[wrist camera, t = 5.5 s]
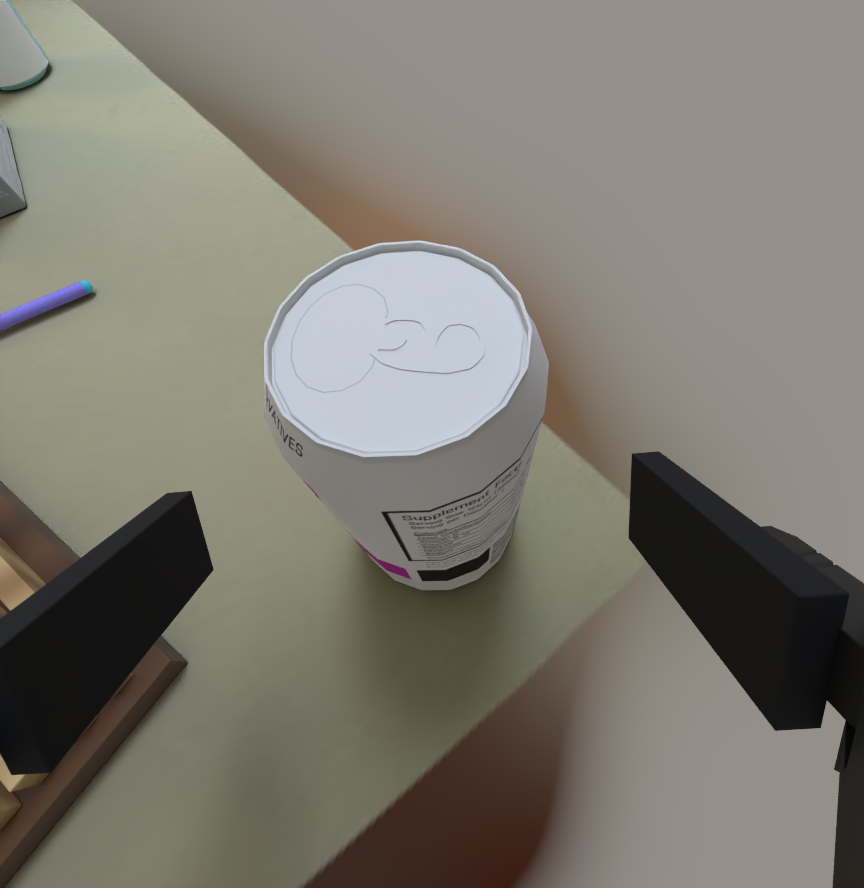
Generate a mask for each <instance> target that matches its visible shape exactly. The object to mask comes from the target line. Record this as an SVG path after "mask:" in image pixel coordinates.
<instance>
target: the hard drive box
mask: <svg viewBox="0 0 864 888" xmlns="http://www.w3.org/2000/svg"><path fill="white" fill-rule="evenodd" d="M25 206H26V203H25V199H24V195H23V190H22V186H21V181H20V178H19V175H18V171H17V167H16V163H15V159H14V155H13V150H12V144H11V141H10V137H9V135H8V131H7V127H6V124H5V122H4V121H3V119H2V118H1V117H0V217H3V216H5V215H7V214H10V213H12V212H14V211H17V210H20V209H22V208H25Z"/></svg>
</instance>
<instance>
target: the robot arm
mask: <svg viewBox="0 0 864 888" xmlns="http://www.w3.org/2000/svg"><path fill="white" fill-rule="evenodd" d="M629 539H630V540H631V541H632V543H633V544H634V545H635V547H636V548H637V549H638V551H639V552H640V553H641V555H642V556H643V557H644V559H645V560H646V561H647V563H648V564H649V565H650V566H651V568H652V569H653V570H654V571H655V573H656V574H657V576H658V577H659V578H660V580H661V581H662V582H663V584H664V585H665V586H666V588H667V589H668V590H669V591H670V593H671V594H672V595H673V597H674V598H675V599H676V601H677V602H678V603H679V605H680V606H681V607H682V609H683V610H684V611H685V612H686V614H687V615H688V616H689V618H690V619H691V620H692V622H693V623H694V624H695V626H696V627H697V628H698V630H699V631H700V632H701V634H702V635H703V636H704V637H705V639H706V640H707V641H708V643H709V644H710V645H711V646H712V648H713V649H714V651H715V652H716V653H717V655H718V656H719V657H720V659H721V660H722V661H723V662H724V664H725V665H726V666H727V668H728V669H729V670H730V672H731V673H732V674H733V676H734V677H735V678H736V679H737V681H738V682H739V684H740V685H741V686H742V687H743V689H744V690H745V691H746V693H747V694H748V695H749V697H750V698H751V699H752V701H753V702H754V703H755V705H756V706H757V707H758V709H759V710H760V711H761V712H762V714H763V715H764V716H765V718H766V719H767V720H768V722H769V723H770V724H771V725H772V727H773V728H774V730H776V731H777V730H792V729H810V728H821V724H822V719H823V714H824V710H825V705H826V701H828V702H829V703H830V704H831V705H832V706H833V707H834V708H835V709H836V710H837V711H838V712H839V713H840V714H841V715H842V716H843V718H844V719H845V720H846V722H845V726H844V730H843V734H842V738H841V743H840V747H839V751H838V755H837V760H836V764H835V768H834V770H836V771H838V772H840V777H839V793H838V794H839V796H838V810H837V826H836V842H835V858H834V875H833V888H864V584H863V583H862V582H861V581H859V580H858V579H856V578H855V577H854V576H852V575H851V574H849V573H848V572H846V571H845V570H844V569H842V568H841V567H839V566H838V565H833V562H832V561H831V560H829V559H828V558H826V557H825V556H823V555H822V554H820V553H817V552H816V550H814V549H813V548H812V547H811V546H809V545H808V544H806V543H805V542H803V541H802V540H800V539H799V538H798V537H796V536H793V535H791V534H789V533H786V532H784V531H781V530H779V529H776V528H774V527H772V526H765V527H760V526H758V525H757V524H756V523H754V522H753V521H752V520H750V519H749V518H748V517H746V516H745V515H743V514H742V513H741V512H740V511H738V510H737V509H735V508H734V507H733V506H731V505H730V504H729V503H727V502H726V501H725V500H723V499H722V498H721V497H719V496H718V495H717V494H715V493H714V492H713V491H711V490H710V489H708V488H707V487H706V486H705V485H703V484H702V483H700V482H699V481H698V480H696V479H695V478H694V477H692V476H691V475H690V474H688V473H687V472H686V471H684V470H683V469H681V468H680V467H679V466H678V465H676V464H675V463H674V462H672V461H671V460H670V459H668V458H667V457H666V456H664V455H662V454H661V453H660V452H648V453H636V454H632V467H631V492H630V516H629ZM212 571H213V566H212V562H211V559H210V555H209V552H208V548H207V545H206V541H205V538H204V534H203V530H202V527H201V523H200V520H199V516H198V513H197V509H196V506H195V502H194V498H193V495H192V491H186V492H175V493H166V494H165V495H164V496H162V497H161V498H160V499H158V500H157V501H156V502H154V503H153V504H152V505H150V506H149V507H148V508H146V509H145V510H144V511H142V512H141V513H140V514H139V515H137V516H136V517H135V518H133V519H132V520H131V521H129V522H128V523H127V524H125V525H124V526H123V527H121V528H120V529H119V530H117V531H116V532H115V533H113V534H112V535H111V536H109V537H108V538H107V539H105V540H104V541H103V542H101V543H100V544H99V545H97V546H96V547H95V548H93V549H92V550H91V551H89V552H88V553H87V554H85V555H84V556H83V557H81V558H80V559H79V560H77V561H76V562H75V563H73V564H72V565H71V566H69V567H68V568H67V569H66V570H64V571H63V572H62V573H60V574H59V575H58V576H56V577H55V578H54V579H52V580H51V581H50V582H48V583H47V584H46V585H44V586H43V587H42V588H40V589H39V590H38V591H36V592H35V593H34V594H32V595H31V596H30V597H28V598H27V599H26V600H24V601H23V602H22V603H20V604H19V605H18V606H16V607H15V608H14V609H12V610H11V611H10V612H8V613H7V614H6V615H4V616H3V617H2V618H0V754H1V756H2V758H3V760H4V762H5V764H6V766H7V768H8V770H9V772H10V773H11V775H24V774H41V773H51V772H52V771H53V770H54V768H55V767H56V766H57V765H58V763H59V762H60V761H61V760H62V758H63V757H64V756H65V755H66V753H67V752H68V751H69V750H70V748H71V747H72V746H73V745H74V743H75V742H76V741H77V740H78V738H79V737H80V736H81V735H82V733H83V732H84V731H85V730H86V728H87V727H88V726H89V725H90V723H91V722H92V721H93V720H94V718H95V717H96V716H97V715H98V713H99V712H100V711H101V710H102V708H103V707H104V706H105V705H106V703H107V702H108V701H109V700H110V698H111V697H112V696H113V695H114V693H115V692H116V691H117V690H118V688H119V687H120V686H121V685H122V683H123V682H124V681H125V680H126V678H127V677H128V676H129V675H130V673H131V672H132V671H133V670H134V668H135V667H136V666H137V665H138V663H139V662H140V661H141V660H142V658H143V657H144V656H145V655H146V653H147V652H148V651H149V650H150V648H151V647H152V646H153V645H154V643H155V642H156V641H157V640H158V638H159V637H160V636H161V635H162V633H163V632H164V631H165V630H166V628H167V627H168V626H169V625H170V623H171V622H172V621H173V620H174V618H175V617H176V616H177V615H178V613H179V612H180V611H181V610H182V608H183V607H184V606H185V605H186V603H187V602H188V601H189V600H190V598H191V597H192V596H193V595H194V593H195V592H196V591H197V590H198V588H199V587H200V586H201V585H202V583H203V582H204V581H205V580H206V578H207V577H208V576H209V575H210V573H211V572H212Z"/></svg>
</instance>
